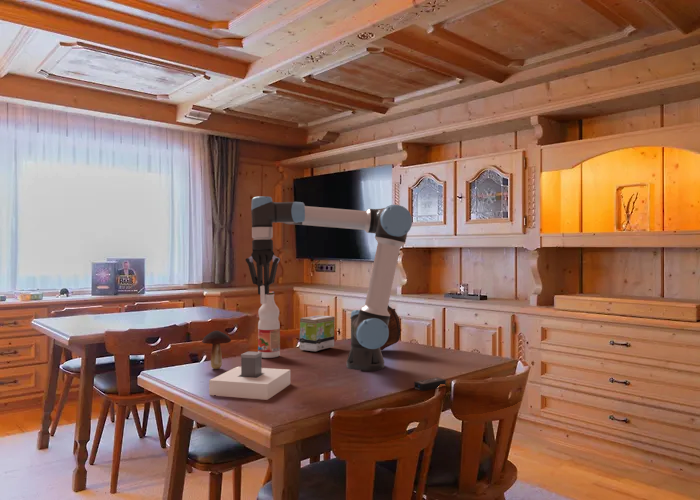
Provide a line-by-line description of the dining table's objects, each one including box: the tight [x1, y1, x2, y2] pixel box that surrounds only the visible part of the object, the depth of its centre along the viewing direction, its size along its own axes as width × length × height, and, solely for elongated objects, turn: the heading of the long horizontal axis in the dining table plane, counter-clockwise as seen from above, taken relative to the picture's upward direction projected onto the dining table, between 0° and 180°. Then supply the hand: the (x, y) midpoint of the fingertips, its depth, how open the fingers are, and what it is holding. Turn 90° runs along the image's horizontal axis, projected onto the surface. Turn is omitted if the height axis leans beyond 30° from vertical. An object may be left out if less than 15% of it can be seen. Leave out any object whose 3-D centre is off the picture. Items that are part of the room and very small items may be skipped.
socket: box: [208, 366, 291, 401], centre depth 178 cm, size 20×20×5 cm
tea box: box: [299, 314, 336, 352], centre depth 249 cm, size 15×10×15 cm, turn 148°
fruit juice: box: [257, 290, 281, 359], centre depth 232 cm, size 9×9×28 cm
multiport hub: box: [413, 376, 447, 392], centre depth 182 cm, size 4×11×2 cm, turn 124°
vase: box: [380, 304, 401, 351], centre depth 244 cm, size 21×18×30 cm
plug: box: [240, 351, 263, 378], centre depth 177 cm, size 5×5×10 cm
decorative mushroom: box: [201, 330, 232, 370], centre depth 207 cm, size 11×11×15 cm
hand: (263, 303), depth 195 cm, fingers closed
